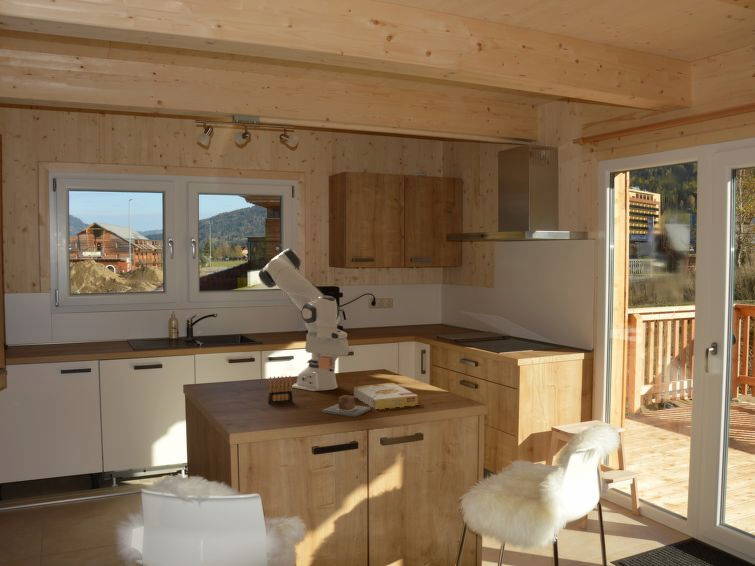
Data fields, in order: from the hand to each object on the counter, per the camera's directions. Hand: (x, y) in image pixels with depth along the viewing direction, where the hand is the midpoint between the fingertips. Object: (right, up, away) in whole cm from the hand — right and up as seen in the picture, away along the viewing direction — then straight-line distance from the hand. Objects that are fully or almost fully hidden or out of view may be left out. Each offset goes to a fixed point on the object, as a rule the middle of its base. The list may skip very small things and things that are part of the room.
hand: (326, 364), depth 298 cm
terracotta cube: (0, -2, 0) cm, 2 cm away
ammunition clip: (-21, -18, +5) cm, 28 cm away
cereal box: (+26, -18, +8) cm, 32 cm away
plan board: (+9, -18, -11) cm, 23 cm away
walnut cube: (+9, -17, -11) cm, 23 cm away
